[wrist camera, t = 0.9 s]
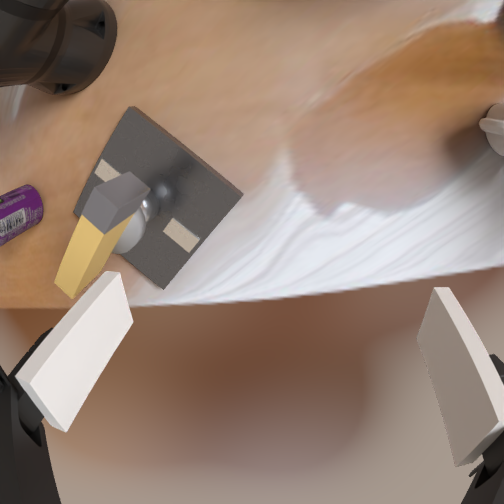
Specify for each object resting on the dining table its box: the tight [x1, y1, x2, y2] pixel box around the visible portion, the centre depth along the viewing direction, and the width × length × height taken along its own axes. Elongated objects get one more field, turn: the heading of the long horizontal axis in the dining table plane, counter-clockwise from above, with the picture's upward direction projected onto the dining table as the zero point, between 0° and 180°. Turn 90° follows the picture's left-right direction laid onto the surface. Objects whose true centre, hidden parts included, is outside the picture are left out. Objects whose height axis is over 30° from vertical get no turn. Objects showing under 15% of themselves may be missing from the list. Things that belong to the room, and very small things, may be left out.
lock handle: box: [54, 171, 151, 299], centre depth 29 cm, size 6×13×8 cm, turn 140°
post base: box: [73, 106, 243, 290], centre depth 36 cm, size 18×18×7 cm
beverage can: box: [0, 185, 43, 246], centre depth 37 cm, size 7×7×12 cm
